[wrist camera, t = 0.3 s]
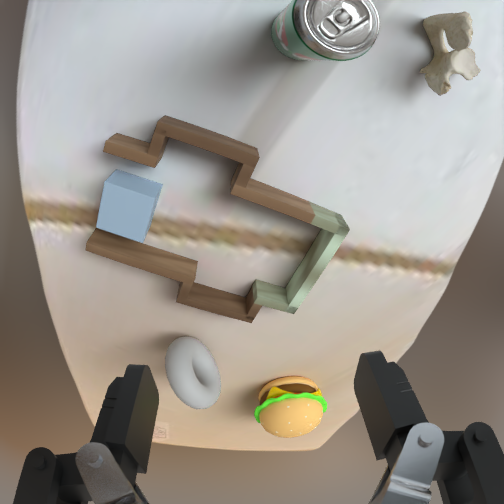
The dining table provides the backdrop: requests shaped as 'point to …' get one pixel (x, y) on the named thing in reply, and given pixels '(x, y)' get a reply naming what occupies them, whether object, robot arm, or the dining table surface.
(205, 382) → the donut
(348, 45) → the soda can
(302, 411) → the toy cheeseburger
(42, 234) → the dining table surface
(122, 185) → the block
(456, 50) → the bone
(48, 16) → the dining table surface
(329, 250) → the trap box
